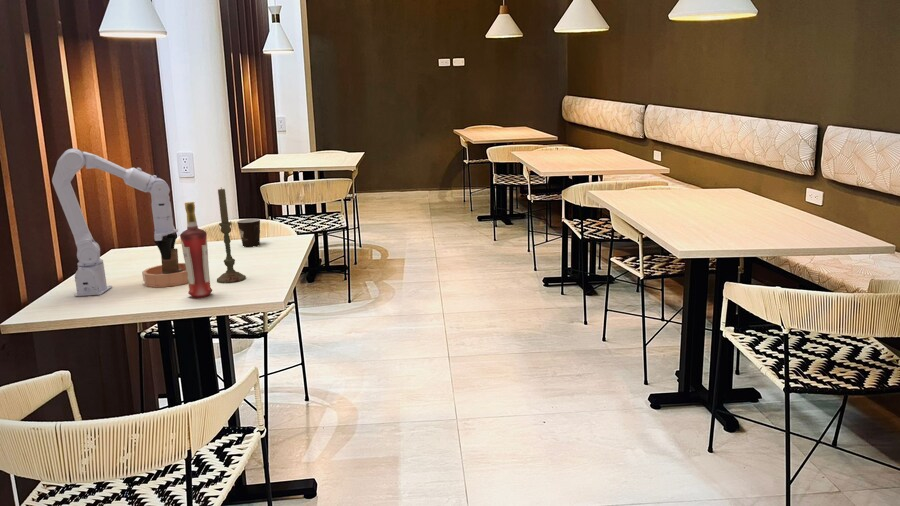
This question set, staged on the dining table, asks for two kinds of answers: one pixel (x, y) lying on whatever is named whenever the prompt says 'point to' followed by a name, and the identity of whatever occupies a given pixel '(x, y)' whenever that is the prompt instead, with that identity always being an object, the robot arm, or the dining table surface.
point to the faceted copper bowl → (165, 276)
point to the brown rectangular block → (171, 262)
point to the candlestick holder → (227, 243)
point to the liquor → (195, 255)
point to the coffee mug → (249, 232)
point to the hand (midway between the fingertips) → (168, 258)
